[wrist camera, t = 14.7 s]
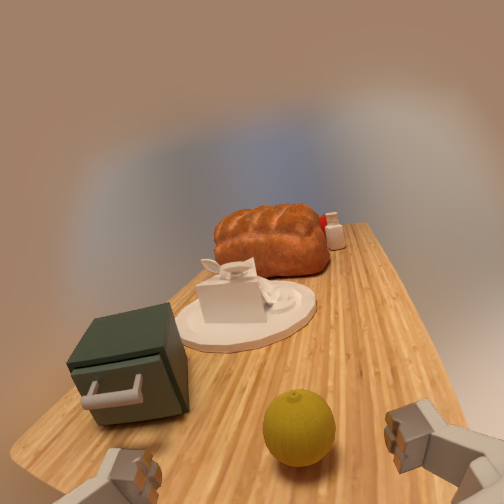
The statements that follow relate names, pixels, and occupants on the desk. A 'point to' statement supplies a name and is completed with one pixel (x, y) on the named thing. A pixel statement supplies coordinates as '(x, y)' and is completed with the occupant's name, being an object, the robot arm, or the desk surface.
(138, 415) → the drawer
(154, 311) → the cabinet
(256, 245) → the bread
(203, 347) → the dish
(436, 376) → the desk surface
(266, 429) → the lemon
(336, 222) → the pepper shaker
